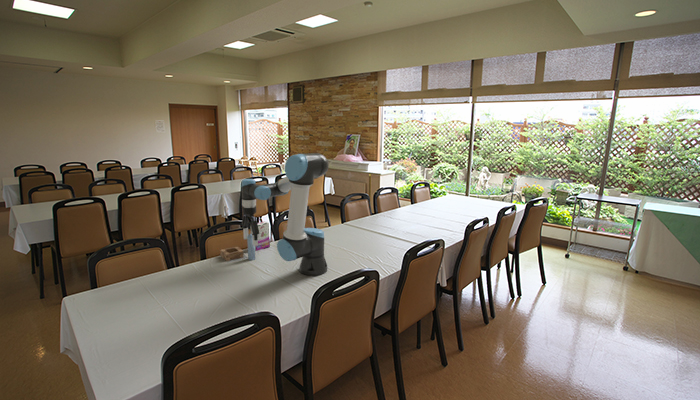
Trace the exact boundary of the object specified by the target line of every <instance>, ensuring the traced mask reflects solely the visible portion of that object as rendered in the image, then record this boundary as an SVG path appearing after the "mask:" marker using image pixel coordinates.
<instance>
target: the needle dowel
mask: <svg viewBox="0 0 700 400" xmlns="http://www.w3.org/2000/svg"><path fill="white" fill-rule="evenodd" d="M246 241H247V242H246V243H247V257H248V258H247V259H248V260H249V261H255V260H256V251H255V246H253V236H252V234H251V233H248V236H247V239H246Z"/></svg>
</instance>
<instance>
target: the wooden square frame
mask: <svg viewBox="0 0 700 400" xmlns="http://www.w3.org/2000/svg"><path fill="white" fill-rule="evenodd" d="M243 254H244V250H243V249H241V248H240V247H239V246H232V247H227V248H222V249H220V255H221V256H220V257H221V258H222V259H223V260H225V261H226V262H227V261H230V260H234V259H239V258H244V255H245V254H244V255H243Z"/></svg>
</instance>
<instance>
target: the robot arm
mask: <svg viewBox="0 0 700 400" xmlns="http://www.w3.org/2000/svg"><path fill="white" fill-rule="evenodd" d="M329 167H330V164H329V161H328V159H327V156H325V155H323V154H321V153H319V152H313V153H297V154H292V155H291V156H289V157H288V158H287V160H286V161H285V164H284V173H285V177H283V178H281V179H279V180H277V182H272V183H265V184H256V180H255V179H253V178H244V179H242V180H241V186H240V187H241V206H242V220H241V227H242V229H243V240H247V236H248V235H249V225H250V226H251V229H252V232H253V234H252V236H253V246H256V245H258V234H259V229H258V224H257V223H258V219H257V216H255V214H256V213H257V200H260V201H267V200H269V199H270V198H275V197H279V196H280V197H281V196H285V195H288V193H289V191H290V197H289V205H288V206H289V207H288V215H287V216H288V217H287V224H286V226H287V227H286V230H285V231H283V234H282V238H281V239H279V240H278V241H277V243H276V248H277V252H278V254H279V256H280V257H281V259H282V260H284V261H286V262H291V261H296V260H298V259H301V261H300V264H299V267H298V268H299V273H301V274H302V275H305V276H312V277H313V276H320V275H323V274H325V273H327V271H328V263H327V260H326V258H325V232H324V231H323V230H322V229H320V228H315V227H306V226H305V225H306V220H307V219H306V218H307V212H308V204H309V202H308V201H309V194H310V188H311V186H313V185H314V180H315V179H319V178H320V177H323V176H325V174H327V173H328V171H329Z"/></svg>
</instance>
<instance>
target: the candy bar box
mask: <svg viewBox="0 0 700 400" xmlns="http://www.w3.org/2000/svg"><path fill="white" fill-rule="evenodd" d="M257 224H258V229H259V234H258V245H256V246H255V252H257V251H261V250H264V249H268V248H270V246H271V242H270V225H269V224H270V223H269V222H268V221H261V222H257ZM250 234H253V232H252V229H251V226H250Z"/></svg>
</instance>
